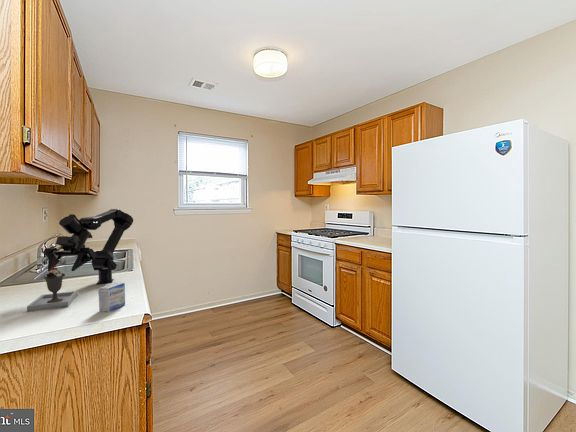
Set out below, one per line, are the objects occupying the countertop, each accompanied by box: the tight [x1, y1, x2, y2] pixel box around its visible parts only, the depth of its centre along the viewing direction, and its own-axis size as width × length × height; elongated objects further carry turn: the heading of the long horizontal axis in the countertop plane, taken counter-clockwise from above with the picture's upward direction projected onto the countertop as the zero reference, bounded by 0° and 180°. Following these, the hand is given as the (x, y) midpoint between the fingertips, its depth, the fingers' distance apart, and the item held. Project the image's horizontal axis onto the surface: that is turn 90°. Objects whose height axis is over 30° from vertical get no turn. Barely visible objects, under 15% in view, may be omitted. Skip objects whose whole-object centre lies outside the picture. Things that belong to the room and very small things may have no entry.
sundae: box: [43, 263, 66, 303], centre depth 112 cm, size 7×7×15 cm
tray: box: [26, 290, 78, 313], centre depth 112 cm, size 15×12×2 cm
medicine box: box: [98, 282, 126, 313], centre depth 107 cm, size 8×4×9 cm, turn 168°
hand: (60, 270), depth 116 cm, fingers open, 9 cm apart
